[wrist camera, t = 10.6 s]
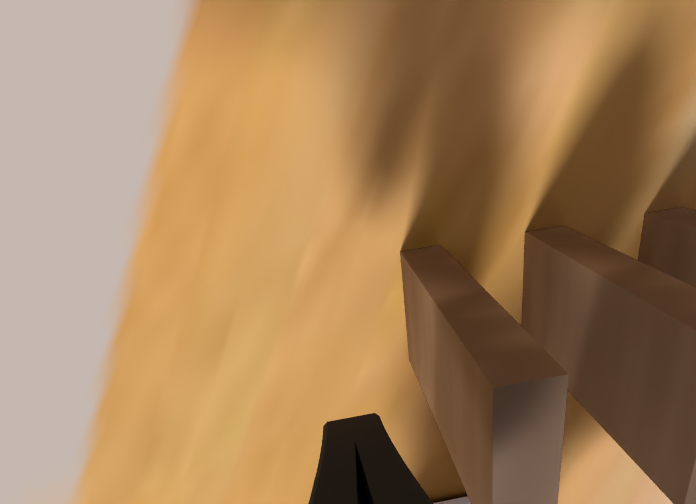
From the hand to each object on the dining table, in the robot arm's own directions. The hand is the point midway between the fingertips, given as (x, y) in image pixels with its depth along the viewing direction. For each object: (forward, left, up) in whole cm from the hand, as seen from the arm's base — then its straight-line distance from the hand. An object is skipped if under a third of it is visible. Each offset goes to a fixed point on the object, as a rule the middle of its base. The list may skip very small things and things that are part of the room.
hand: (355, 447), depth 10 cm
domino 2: (0, -9, -6) cm, 11 cm away
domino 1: (0, -4, -6) cm, 7 cm away
